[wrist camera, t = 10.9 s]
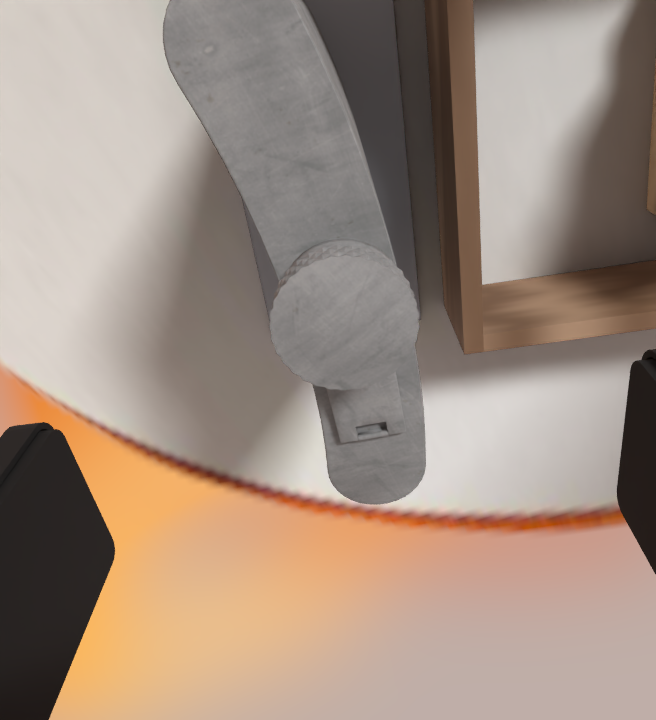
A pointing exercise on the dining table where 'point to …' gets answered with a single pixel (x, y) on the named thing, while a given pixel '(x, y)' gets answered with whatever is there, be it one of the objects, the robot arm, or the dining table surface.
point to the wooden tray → (462, 226)
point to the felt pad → (366, 120)
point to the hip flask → (312, 228)
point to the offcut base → (652, 158)
